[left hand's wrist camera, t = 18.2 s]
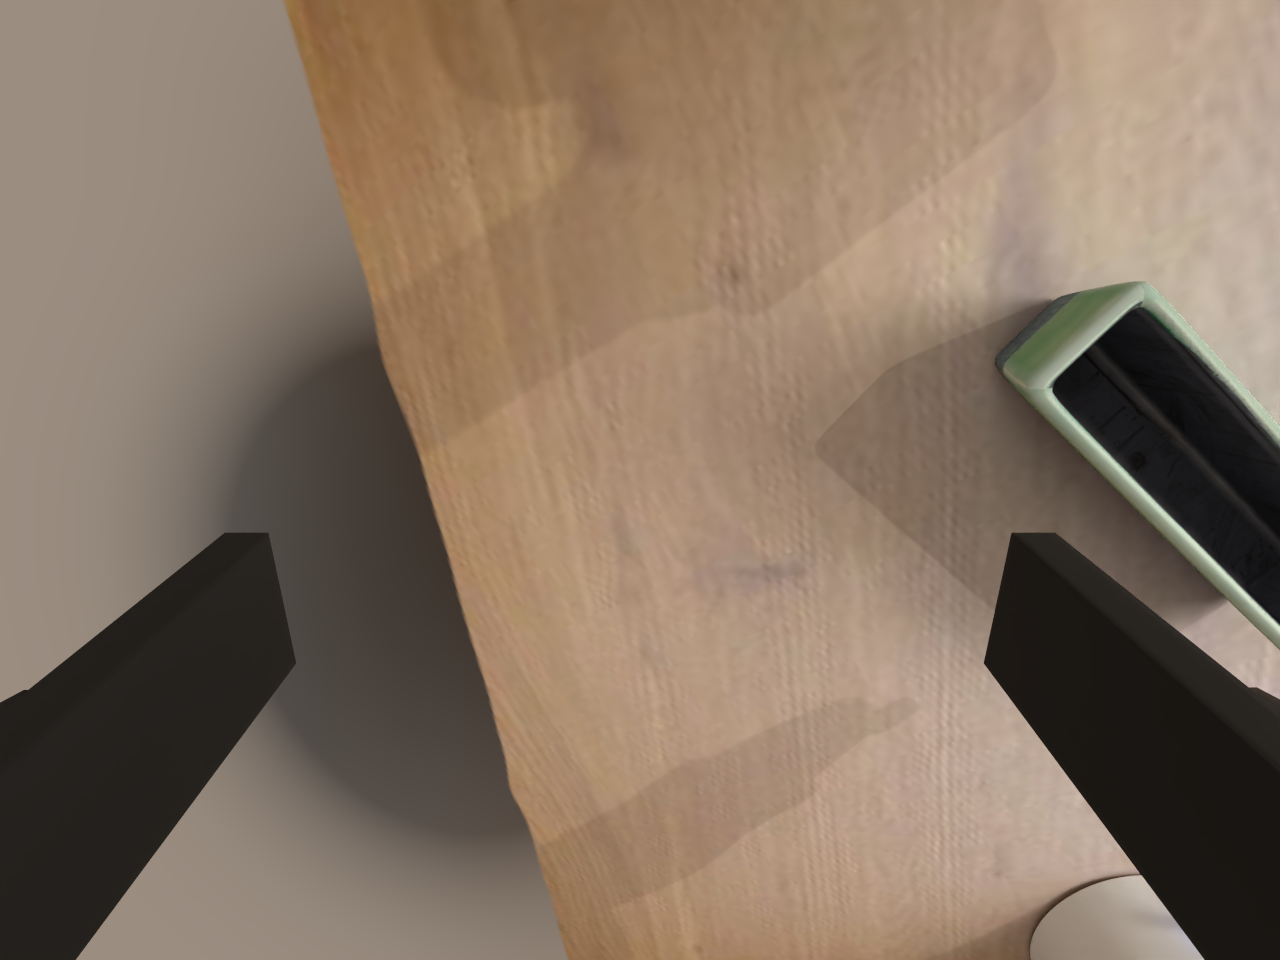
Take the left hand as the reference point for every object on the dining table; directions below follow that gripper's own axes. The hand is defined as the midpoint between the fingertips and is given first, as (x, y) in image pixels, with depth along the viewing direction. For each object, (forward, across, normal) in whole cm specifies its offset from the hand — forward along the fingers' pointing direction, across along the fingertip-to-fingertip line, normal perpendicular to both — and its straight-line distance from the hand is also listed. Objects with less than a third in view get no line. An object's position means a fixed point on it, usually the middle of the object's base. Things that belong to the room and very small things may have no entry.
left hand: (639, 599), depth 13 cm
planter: (+30, +31, -8) cm, 44 cm away
